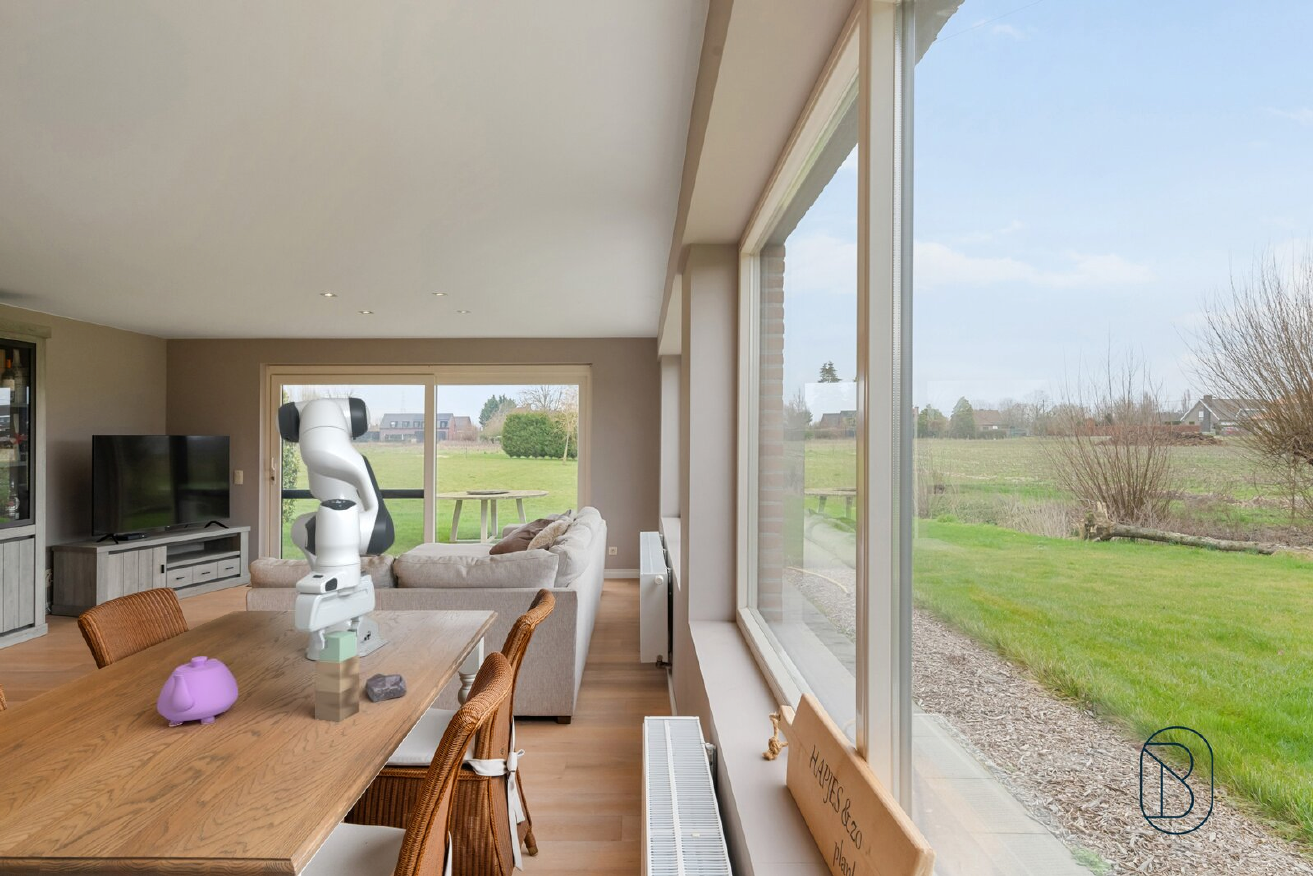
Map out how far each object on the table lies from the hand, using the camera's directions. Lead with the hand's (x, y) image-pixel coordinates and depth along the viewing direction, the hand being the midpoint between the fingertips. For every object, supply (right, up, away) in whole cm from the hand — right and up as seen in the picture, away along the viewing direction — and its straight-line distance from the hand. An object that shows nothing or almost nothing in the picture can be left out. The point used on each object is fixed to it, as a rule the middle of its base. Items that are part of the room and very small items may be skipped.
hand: (337, 643), depth 146 cm
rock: (+5, -16, +12) cm, 21 cm away
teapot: (-28, -15, -2) cm, 32 cm away
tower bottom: (0, -15, 0) cm, 15 cm away
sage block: (0, -3, 0) cm, 3 cm away
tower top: (0, -9, 0) cm, 9 cm away
